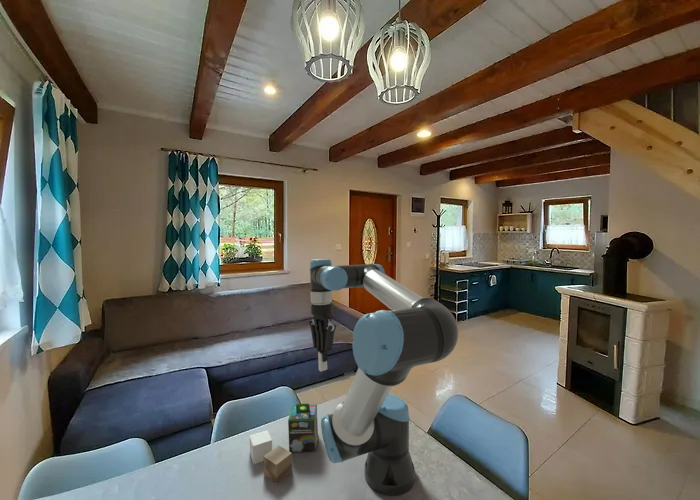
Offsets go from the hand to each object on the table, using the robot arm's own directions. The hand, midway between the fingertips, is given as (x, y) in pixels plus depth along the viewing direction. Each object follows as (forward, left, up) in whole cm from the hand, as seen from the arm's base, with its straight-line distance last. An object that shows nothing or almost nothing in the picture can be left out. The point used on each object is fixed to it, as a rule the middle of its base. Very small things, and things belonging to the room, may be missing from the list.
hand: (323, 369), depth 105 cm
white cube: (+8, +20, -26) cm, 34 cm away
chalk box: (+4, +6, -26) cm, 27 cm away
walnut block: (-3, +19, -26) cm, 32 cm away
